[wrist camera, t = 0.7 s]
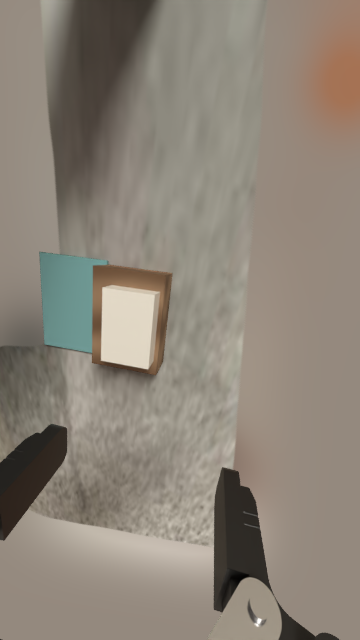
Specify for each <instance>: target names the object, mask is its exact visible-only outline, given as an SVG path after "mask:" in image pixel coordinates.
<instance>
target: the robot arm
mask: <svg viewBox="0 0 360 640" xmlns="http://www.w3.org/2000/svg"><path fill="white" fill-rule="evenodd" d="M66 453H67V428H66V427H62V426H58V425H54V424H51V425H49V426H48V427H47V428H46V429H45V430H44V431H43V432H42V433H41V434H40V433H35V434H33V435H32V436H30V437H28V438H27V439H25V440H24V441H23V442H22V443H21V444H20V445H18V446H17V447H16V448H15V450H14V451H12V452H11V453H10V454H9V455H8V456H7V458H6V459H4V460H3V461H2V462H1V463H0V540H5V539H6V537H7V536H8V535H9V533H10V532H11V531H12V530H13V528H14V527H15V526H16V524H17V523H18V521H19V520H20V519H21V518H22V516H23V515H24V514H25V512H26V511H27V510H28V508H29V507H30V506H31V504H32V503H33V502H34V500H35V499H36V498H37V496H38V495H39V494H40V492H41V491H42V490H43V488H44V487H45V486H46V484H47V483H48V482H49V480H50V479H51V478H52V476H53V475H54V474H55V472H56V471H57V470H58V468H59V467H60V466H61V464H62V463H63V461H64V459H65V456H66ZM214 610H217V611H220V612H222V614H221V616H220V618H219V619H218V621H217V623H216V625H215V626H214V628H213V630H212V632H211V633H210V635H209V637H208V638H207V640H339V639H338V638H337V637H335V636H333V635H331V634H328V633H320V634H318V635H317V636H316V637H315V636H314V635H313V634H312V633H310V632H309V631H308V630H306V629H305V628H304V627H302V626H301V625H300V624H299V623H297V622H296V621H295V620H293V619H292V618H291V617H289V615H288V614H287V613H286V612H285V611H284V610H283V609H282V607H281V606H280V605H279V603H278V602H277V600H276V598H275V596H274V594H273V592H272V589H271V587H270V584H269V580H268V574H267V568H266V562H265V556H264V549H263V543H262V537H261V531H260V525H259V519H258V513H257V506H256V501H255V499H254V497H253V495H252V493H251V491H250V489H249V488H248V487H244V486H240V478H239V472H238V471H235V470H231V469H227V468H223V467H222V470H221V473H220V477H219V481H218V485H217V489H216V494H215V506H214ZM0 640H1V639H0Z"/></svg>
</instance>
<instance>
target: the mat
mask: <svg viewBox="0 0 360 640" xmlns="http://www.w3.org/2000/svg"><path fill="white" fill-rule="evenodd" d="M39 254H40V270H41V271H40V272H41V289H42V306H43V324H44V342H45V344H46V345H51V346H57V347H62V348H67V349H73V350H78V351H84V352H89V353H92V304H93V265H108V261H105V260H98V259H90V258H83V257H75V256H68V255H60V254H53V253H45V252H40V253H39Z"/></svg>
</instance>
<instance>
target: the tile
mask: <svg viewBox="0 0 360 640" xmlns="http://www.w3.org/2000/svg"><path fill="white" fill-rule="evenodd" d="M159 298H160V292H156V291H150V290H143V289H136V288H129V287H122V286H115V285H110V286H106V287H102V332H101V361H106V362H111V363H116V364H122V365H127V366H132V367H138V368H143V369H149V367H150V366H151V364H152V363H153V361H154V351H155V341H156V330H157V319H158V309H159Z"/></svg>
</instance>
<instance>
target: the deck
mask: <svg viewBox="0 0 360 640" xmlns="http://www.w3.org/2000/svg"><path fill="white" fill-rule="evenodd" d="M171 281H172V273H167V272H159V271H152V270H144V269H137V268H129V267H122V266H115V265H93V304H92V363H95V364H100V365H106V366H111V367H116V368H121V369H127V370H132V371H137V372H142V373H148V374H153V375H156V374H157V372H158V370H159V368H160V366H161V364H162V362H163V356H164V347H165V337H166V328H167V319H168V309H169V300H170V291H171ZM110 285H115V286H122V287H129V288H136V289H143V290H150V291H156V292H160V298H159V309H158V319H157V330H156V341H155V351H154V361H153V363H152V364H151V366H150V367H149V369H143V368H138V367H132V366H127V365H122V364H116V363H111V362H106V361H101V332H102V287H106V286H110Z"/></svg>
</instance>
